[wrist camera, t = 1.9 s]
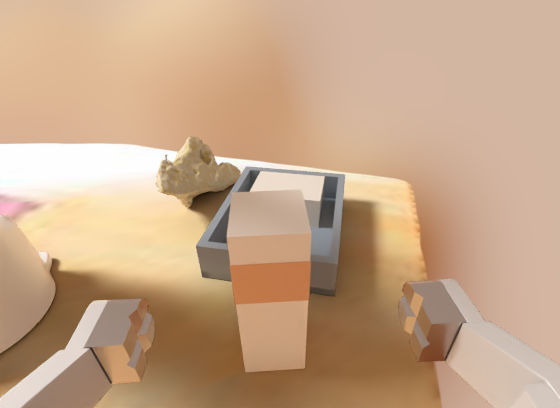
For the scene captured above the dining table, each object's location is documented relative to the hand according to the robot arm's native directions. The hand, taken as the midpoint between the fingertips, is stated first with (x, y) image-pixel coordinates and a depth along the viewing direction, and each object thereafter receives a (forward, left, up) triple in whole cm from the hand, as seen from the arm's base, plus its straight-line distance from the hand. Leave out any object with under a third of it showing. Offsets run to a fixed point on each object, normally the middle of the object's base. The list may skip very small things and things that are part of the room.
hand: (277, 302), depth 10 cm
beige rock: (-21, +35, -21) cm, 46 cm away
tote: (-6, +29, -21) cm, 36 cm away
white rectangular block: (-6, +33, -20) cm, 39 cm away
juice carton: (-3, +12, -21) cm, 24 cm away
